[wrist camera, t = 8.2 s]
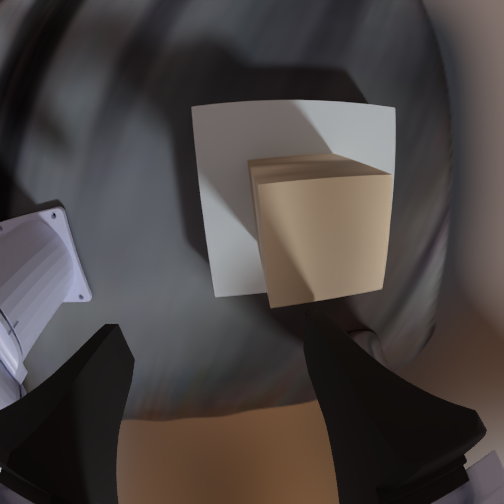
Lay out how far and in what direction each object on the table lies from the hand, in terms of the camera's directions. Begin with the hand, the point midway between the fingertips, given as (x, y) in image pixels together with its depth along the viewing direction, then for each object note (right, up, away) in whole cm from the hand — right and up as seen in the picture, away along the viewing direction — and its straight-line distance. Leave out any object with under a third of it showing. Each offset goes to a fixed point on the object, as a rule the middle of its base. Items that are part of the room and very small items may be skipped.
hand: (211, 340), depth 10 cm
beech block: (+4, +6, +4) cm, 9 cm away
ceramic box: (+4, +7, +8) cm, 12 cm away
